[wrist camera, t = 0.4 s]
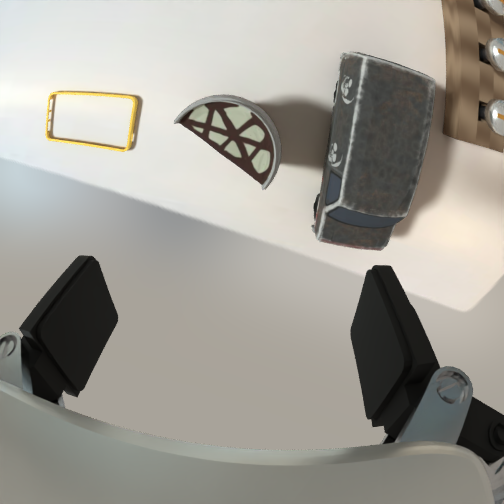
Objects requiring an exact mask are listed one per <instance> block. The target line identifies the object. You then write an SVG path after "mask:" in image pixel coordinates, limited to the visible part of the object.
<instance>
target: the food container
mask: <svg viewBox="0 0 504 504" xmlns="http://www.w3.org/2000/svg"><path fill="white" fill-rule="evenodd" d="M176 123H180V124H182V125H183V126H184V127H186V128H188V129H189V130H191V131H192V132H193V133H195V134H196V135H197V136H199V137H200V138H201V139H203V140H204V141H205V142H207V143H208V144H209V145H210V146H212V147H213V148H214V149H215V150H217V151H218V152H219V153H220V154H222V155H223V156H224V157H226V158H227V159H229V160H230V161H232V162H233V163H234V164H236V165H237V166H238V167H240V168H241V169H242V170H244V171H245V172H246V173H247V174H249V175H250V176H251V177H253V178H254V179H255V180H256V181H258V182H259V183H260V184H261V185H262V190H264V189H266V188H267V187H268V186H269V185H270V183H271V182H272V181H273V179H274V177H275V175H276V173H277V171H278V168H279V165H280V159H281V142H280V137H279V134H278V131H277V129H276V127H275V125H274V123H273V121H272V120H271V118H270V117H269V116H268V115H267V113H266V112H264V111H263V110H262V109H261V108H260V107H259V106H257V105H256V104H254V103H253V102H251V101H249V100H246V99H244V98H241V97H237V96H233V95H213V96H209V97H205V98H202V99H200V100H198V101H196V102H194V103H192V104H191V105H189V106H188V107H187V108H185V109H184V110H183V111H182V112H181V113H180V114H179V115H178V117H177V118H176V119H175V120H174V124H176Z"/></svg>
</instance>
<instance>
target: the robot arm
mask: <svg viewBox="0 0 504 504" xmlns="http://www.w3.org/2000/svg"><path fill="white" fill-rule="evenodd" d="M117 322H118V314H117V311H116V309H115V307H114V304H113V302H112V299H111V296H110V293H109V291H108V288H107V285H106V282H105V279H104V277H103V273H102V271H101V268H100V265H99V262H98V261H97V260H96V259H95V258H94V257H93V256H78V257H77V258H76V259H75V260H74V261H73V263H72V264H71V265H70V266H69V267H68V268H67V269H66V270H65V272H64V273H63V274H62V275H61V276H60V278H58V280H57V281H56V282H55V283H54V284H53V286H52V287H51V288H50V289H49V291H48V292H47V293H46V294H45V295H44V297H43V298H42V299H41V300H40V302H39V303H38V304H37V305H36V307H35V308H34V309H33V310H32V312H31V313H30V315H29V316H28V317H27V318H26V320H25V321H24V322H23V324H22V325H21V327H20V328H19V329H20V331H21V332H22V334H23V337H22V339H21V337H20V336H19V335H18V333H16V332H8V333H5V334H3V335H2V336H0V504H504V415H502V414H501V413H499V412H497V411H496V410H494V409H492V408H491V407H489V406H487V405H485V404H484V403H482V402H481V401H479V400H477V399H475V398H474V397H472V395H473V387H472V383H471V381H470V379H469V377H468V376H467V375H466V374H465V373H464V372H463V371H461V370H460V369H458V368H455V367H449V366H446V367H442V368H440V366H439V364H438V361H437V359H436V356H435V354H434V351H433V349H432V347H431V344H430V342H429V340H428V337H427V335H426V333H425V330H424V328H423V326H422V324H421V322H420V320H419V318H418V315H417V313H416V311H415V309H414V308H413V306H412V305H411V304H410V302H409V300H408V298H407V296H406V294H405V292H404V290H403V288H402V286H401V284H400V282H399V280H398V278H397V276H396V274H395V272H394V271H393V269H392V267H391V266H387V265H374V266H373V267H372V270H368V271H367V273H366V277H365V281H364V284H363V288H362V292H361V295H360V299H359V303H358V306H357V310H356V313H355V316H354V320H353V323H352V326H351V340H352V345H353V349H354V354H355V359H356V364H357V369H358V373H359V379H360V384H361V389H362V395H363V401H364V406H365V412H366V417H367V419H371V420H372V426H373V427H378V426H384V430H385V433H386V436H385V437H384V439H383V440H382V442H381V443H380V445H370V446H361V447H351V448H340V449H339V448H338V449H319V450H261V449H244V448H232V447H222V446H213V445H205V444H198V443H192V442H186V441H180V440H175V439H169V438H164V437H159V436H155V435H150V434H146V433H142V432H138V431H134V430H130V429H127V428H123V427H119V426H115V425H113V424H109V423H106V422H103V421H100V420H97V419H94V418H91V417H88V416H85V415H82V414H79V413H76V412H73V411H71V410H68V409H66V408H65V405H64V401H63V397H62V393H63V390H64V391H65V392H66V393H67V394H69V395H72V396H75V397H78V395H79V393H80V391H82V390H83V389H84V388H85V385H86V383H87V381H88V379H89V377H90V375H91V373H92V371H93V369H94V367H95V365H96V363H97V361H98V358H99V357H100V355H101V353H102V351H103V349H104V347H105V345H106V343H107V341H108V339H109V337H110V336H111V334H112V332H113V330H114V328H115V326H116V324H117Z"/></svg>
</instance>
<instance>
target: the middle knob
mask: <svg viewBox="0 0 504 504" xmlns="http://www.w3.org/2000/svg"><path fill="white" fill-rule="evenodd" d="M479 58H480V59H481V60H482V61H489V62H490V63H491V65H492V66H493V67H494V68H495V69H496V70H498V71H500V72H504V38H490V39H488V40H487V42H486V46H485V48H480V49H479Z"/></svg>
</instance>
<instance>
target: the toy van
mask: <svg viewBox="0 0 504 504" xmlns="http://www.w3.org/2000/svg"><path fill="white" fill-rule="evenodd" d="M343 55H344V56H343ZM340 58H341V62H340V67H339V78H338V81H337V83H336V91H335V92H334V103H335V104H334V107H333V112H332V120H331V127H330V134H329V140H328V146H327V152H326V158H325V163H324V170H323V177H322V184H321V191H320V194H318V195H317V197H316V201H315V203H314V219H315V225H312V231H313V232H314V233H315V235H316V239H317V240H318V241H319V242H324V243H329V244H333V245H338V246H344V247H350V248H357V249H365V250H379V251H381V250H382V249H383V248H384V247H386V246H387V244H388V242H389V239H390V237H391V235H392V232H393V230H394V228H395V225H396V223H398V222H399V221H401V220H402V219H403V218H405V217H406V216H407V214H408V211H409V209H410V206H411V203H412V200H413V197H414V194H415V191H416V187H417V184H418V180H419V176H420V172H421V168H422V164H423V160H424V156H425V151H426V147H427V143H428V138H429V133H430V127H431V120H432V113H433V106H434V98H435V89H436V86H435V80H434V79H433V78H431V77H429V76H427V75H425V74H423V73H421V72H419V71H415V70H413V69H410V68H407V67H405V66H402V65H400V64H397V63H394V62H390V61H387V60H384V59H380V58H377V57H373V56H370V55H366V54H362V53H360V52H349V53H342V54H341V57H340Z"/></svg>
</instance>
